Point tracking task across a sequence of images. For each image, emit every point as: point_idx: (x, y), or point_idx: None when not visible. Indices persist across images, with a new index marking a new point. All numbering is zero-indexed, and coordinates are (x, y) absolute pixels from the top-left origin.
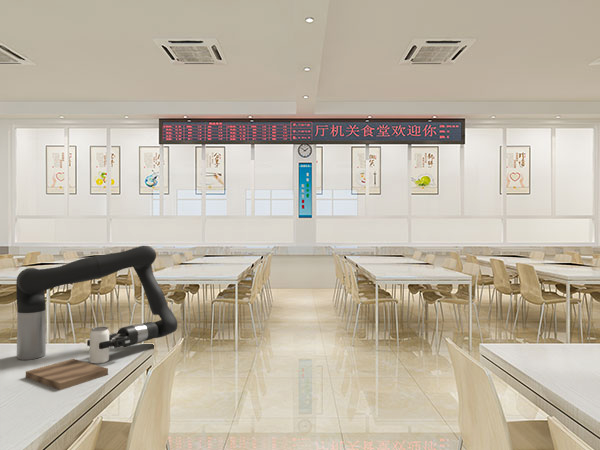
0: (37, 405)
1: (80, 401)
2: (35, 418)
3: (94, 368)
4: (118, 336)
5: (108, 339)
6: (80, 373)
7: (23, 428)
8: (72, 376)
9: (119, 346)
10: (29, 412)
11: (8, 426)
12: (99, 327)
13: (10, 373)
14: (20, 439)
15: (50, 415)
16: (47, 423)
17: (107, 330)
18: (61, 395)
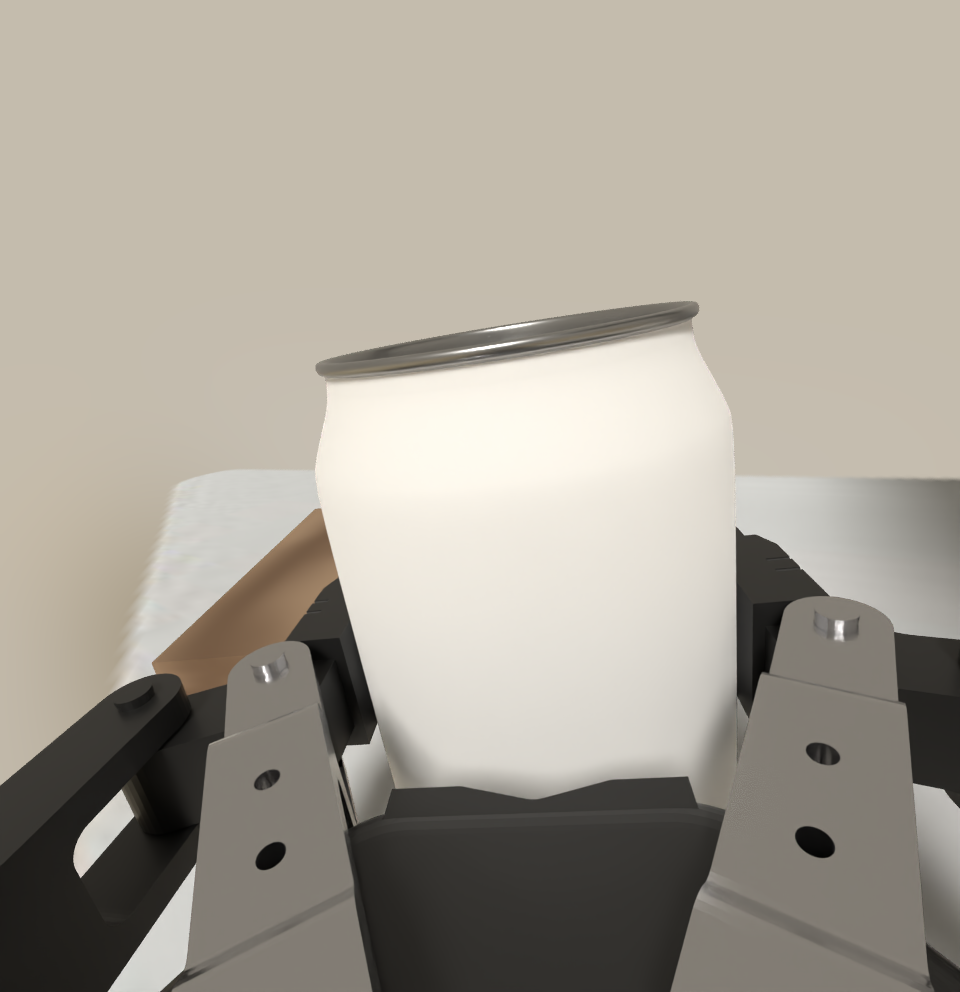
0: (302, 498)
1: (162, 546)
2: (243, 491)
3: (275, 619)
4: (196, 935)
5: (356, 634)
6: (310, 561)
7: (237, 480)
8: (322, 538)
9: (105, 872)
10: (288, 488)
11: (281, 471)
12: (676, 321)
13: (775, 484)
14: (208, 477)
15: (211, 504)
16: (190, 498)
17: (333, 419)
18: (277, 531)
